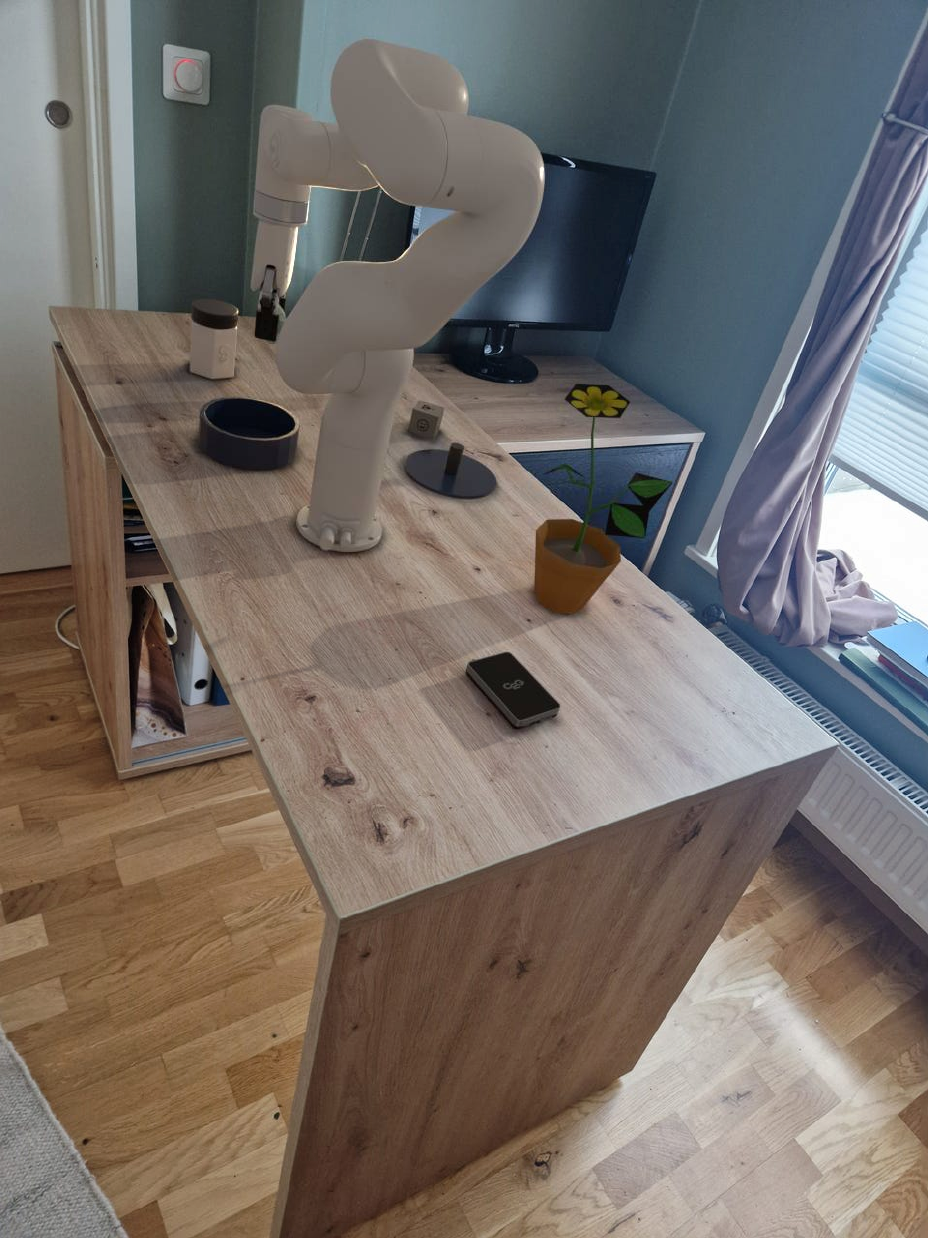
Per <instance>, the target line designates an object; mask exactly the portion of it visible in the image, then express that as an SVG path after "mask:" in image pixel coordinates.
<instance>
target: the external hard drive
mask: <svg viewBox="0 0 928 1238" xmlns="http://www.w3.org/2000/svg"><path fill="white" fill-rule="evenodd" d="M464 672H465V675H466V677H467V678H468V679H469V680H470V681H471V683H473V685H474V686H475V687H476V688H477V689H478V691H479V692H480V693H481V694H482V695H483V696H484V698H485V699H486V700H487V701H488V702H489V703H490V704H491V705H492V706H493V707H494V709H495V710H496V711H497V712H498V714H500V715H501V717H502V718H503V719H504V720H505V722H507V724H508V725H509V726H510V727H511V728H512V729H513V730H515V731H518V730H522V729H525V728H527V727H531V726H533V725H536V724H540V723H542V722H545V721H547V720H551V719H553V718H555V717H557V716H558V714H559V712H560V709H561V707H562V705H561V703H559V702H558V700H557V699H556V698H555V697H554V696H553V695H552V693H550V692H549V691H548V690H547V689H546V688H545V687H544V685H542V684H541V682H540V681H539V680H538V679H537V678H536V677H535V676H534V674H532V673H531V672H530V671H529V670H528V668H526V667H525V665H523V664H522V663H521V662H520V661H519V659H517V657H516V656H515V655H514V654H513V653H512V652H510V651H503V652H499V653H495V654H492V655H487V656H484V657H481V658H477V659H473V660H470V661H468V662H467V665H466V668H465V671H464Z"/></svg>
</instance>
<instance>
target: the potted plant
mask: <svg viewBox="0 0 928 1238" xmlns="http://www.w3.org/2000/svg"><path fill="white" fill-rule="evenodd" d="M564 401H566V402H567V403H568V404H569V405H571V406H572V407H573V408H574V409H576V410H577V411H578V412H579V413H581V414H582V415H583V416H584V417H585V418H592V424H591V431H590V432H591V433H590V483H585V482H584V481H586V479H587V477H586V476H585V475H583V474H582V473H580V472H578V471H577V470H575V469H574V468H572V466H570V465H568V464H566V463H563V464H561V465H558V466H556V467H554V468H553V469H551V470H549V471H546V472H544V473H542V474H541V475H542V476H543V475H546V474H550V473H553V472H557V471H561V470H564V469H565V470H566V472H567V475H568V477H569V479H570V481H564V482H556V483H550V484H548V486H557V485H563V484H569V483H572V484H573V485H577V486H579V487H580V486H581V487H584V488H588V489H589V492H588V500H587V507H586V512H585V516H584V517H583V518H584V519H583V521H579V520H576V519H573V518H561V519H560V518H559V519H558V518H556V519H555V518H553V519H546V520H545V521H543V523H542V524H541V525H540V526H539V527H537V529H535V548H534V549H535V550H534V578H533V581H534V585H533V594H534V596H535V597H536V600H537V602H538V604H539V605H541V606H542V607H544V608H546V609H548V610H549V611H551V612H553V613H558V614H564V615H570V616H571V615H573V614H575V613H578V612H580V611H582V610H583V609H584V608H585V606H586V605H587V603H589V601H590V600H591V599H592V597H593V596H594V595H595V594H596V593H597V591H598V590H599V589H600V588H601V586H602V585H603V584H604V583H605V581H606V580H607V579H608V578H609V577H610V575H611V574H612V573H613V572H614V570H615V569H616V568H617V566H618V565H619V564H620V563H621V562H622V556H621V545H620V544H619V543H618V542H616V541H615V539H613V538H612V537H611V536H614V537H626V538H635V539H636V538H637V539H646V535H647V529H648V523H649V516H650V511H651V510H652V509H653V508H654V506H655V505H656V504H657V503H658V502H659V500H661V498H662V496H663V495H664V494H665V493H666V492H667V491H668V489H669V488H670V487H671V486H672V484H673V483H674V482H673V481H670V480H667V479H663V478H659V477H656V476H651V475H648V474H644V473H640V472H637V471H636V472H635V473H634V474H633V476H632V477H631V479H630V481H629V482H628V483H627V487H625V489H623V490H622V491H621V492H620V493H619V494H618V495H617V496H616V497H615V498H614V499H613V500H612V501H610V502H607V503H605V504H603V505H602V504H601V505H600V506H597V507H595V508H593V509H592V501H593V492H594V483H595V461H594V460H595V457H594V456H595V451H594V449H595V448H594V442H595V441H594V440H595V439H594V434H595V433H594V431H595V423H596V422H595V421H596V418H606V419H621V417H622V416H623V415H624V413H625V411H626V409H627V408H628V407H629V405H630V404H631V401H630V399H628V398H626V397H625V396H623V395H622V394H621V393H620V392H618V391H617V390H616V389H614V388H613V387H612V386H610V385H609V384H595V383H575V384H574V386H573V387H572V388H571V389H570V391H569V392H568V393H567V395H566V396H565V397H564ZM571 472H573V473H575V474H577V475H579V476H581V477H583V478H586V479H585V480H581V479H580V481H579V480H576V479H575V478H574V476H573V474H572V473H571ZM541 486H542V487H545V486H546V484H544V485H541ZM628 489H629V490H630V491H631V492H632V494H633V495H634V496H635V497H636V499H637V500H638V501H639V502H640V504H632V503H620V502H617V500H618V499H620V497H621V496H622V495H623V494H624V493H625V492H626V491H627V490H628ZM609 506H610V507H609ZM607 507H609V511H608V517H607V520H606V521H607V522H606V527H605V531H603V530H602V529H601V528H598V527H596V526H594V525H590V524H588V519H589V517H590V515H591V514H594V513H596V512H598V511H601V510H602V509H604V508H607Z"/></svg>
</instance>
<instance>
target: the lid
mask: <svg viewBox="0 0 928 1238" xmlns="http://www.w3.org/2000/svg"><path fill="white" fill-rule="evenodd" d="M464 450H465V446H464V444H462V443H459V442H451V443H450V446H449V448H448V450H447V449H439V448H438V449H437V448H427V449H419V450H416V451H413V452H411V453H409V454H408V455H407V456H406V458H405V460H404V462H403V463H404V464H403V468H404V471H405V472H406V474H407V475H408V478H410V479H411V480H412V481H414V482H415V483H416V484H417V485H419V486H421V487H422V488H424V489H426V490H429V491H431V492H434V493H435V494H439V495H442V496H446V497H451V498H456V499H467V500H468V499H470V500H471V499H481V498H484V497H487V496H489V495H491V494H492V493H493V492H494V491H495V489H496V487H497V483H498V482H497V478H496V476H495V473H493V471H491V470H492V469H491V470H490V468H489V467H488V466H486V465H485V464H483V463H482V462H480V461H479V460H477V459H475V458H473V457H470V456H468V455H465V454H464Z"/></svg>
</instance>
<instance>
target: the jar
mask: <svg viewBox="0 0 928 1238" xmlns="http://www.w3.org/2000/svg"><path fill="white" fill-rule="evenodd" d="M190 314H191V315H190V316H191V317H190V318H191V328H190V329H191V330H190V355H189V372H190V373H191V374H192V373H193V374H195V375H199V376H200V377H204V378H207V379H209V380H220V379H230V378H234V374H235V362H236V350H237V349H236V348H237V336H238V335H237V333H238V327H237V326H238V323H239V309H238V307H236V306H235V305H233V304H231V303H229V302H226V301H222V300H220V299H219V300H218V299H213V298H200V299H195V300H193V301H192V302H191V312H190Z"/></svg>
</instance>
